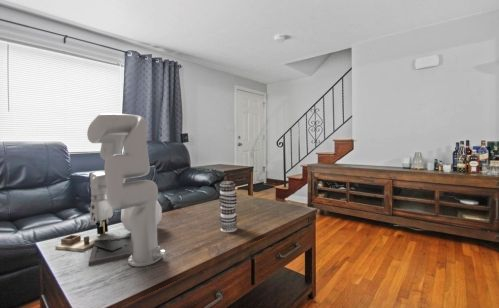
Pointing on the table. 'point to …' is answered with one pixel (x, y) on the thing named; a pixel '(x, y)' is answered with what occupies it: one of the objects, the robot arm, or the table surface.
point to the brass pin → (103, 227)
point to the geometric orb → (127, 212)
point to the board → (76, 243)
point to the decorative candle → (228, 206)
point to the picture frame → (110, 250)
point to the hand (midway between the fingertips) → (102, 232)
